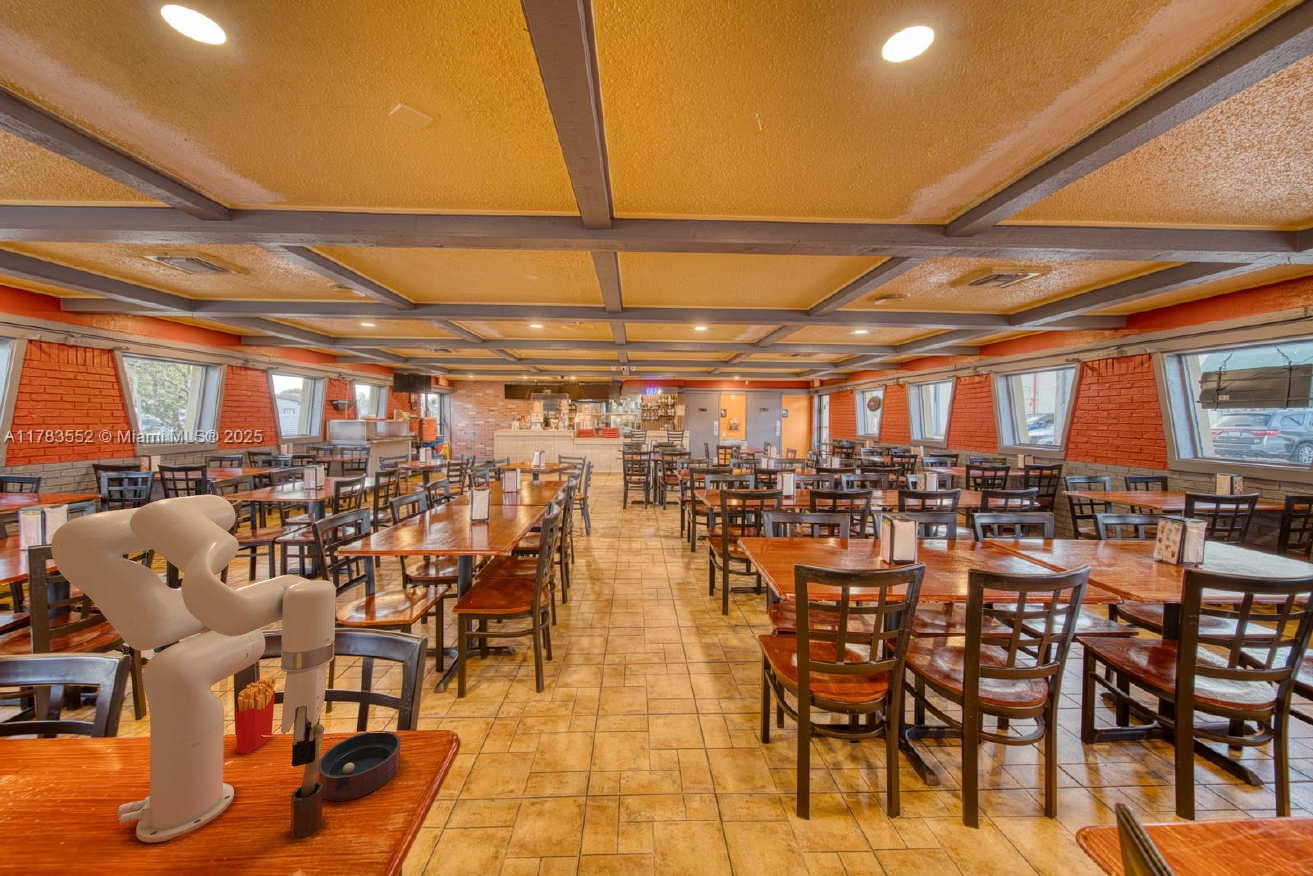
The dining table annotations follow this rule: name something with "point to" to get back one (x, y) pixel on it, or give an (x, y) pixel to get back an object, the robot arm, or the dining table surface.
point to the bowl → (359, 765)
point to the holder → (306, 812)
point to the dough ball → (348, 768)
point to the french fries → (254, 715)
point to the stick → (312, 765)
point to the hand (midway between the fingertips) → (305, 757)
